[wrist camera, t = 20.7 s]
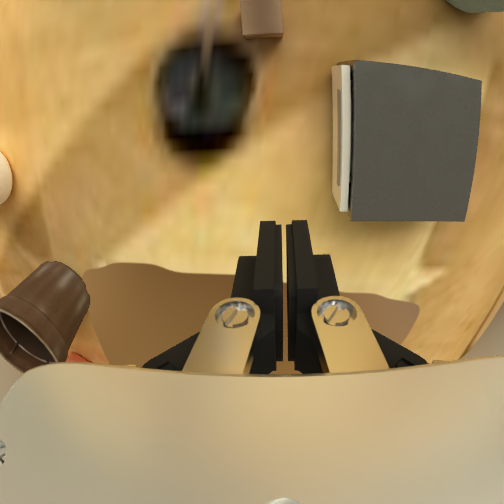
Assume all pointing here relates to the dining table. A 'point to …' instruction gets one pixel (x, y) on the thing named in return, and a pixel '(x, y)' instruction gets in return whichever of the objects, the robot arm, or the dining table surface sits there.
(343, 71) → the white drawer
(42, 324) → the plant pot
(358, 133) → the housing
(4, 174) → the cup
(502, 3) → the grey green tumbler
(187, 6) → the dining table surface
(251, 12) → the walnut block
